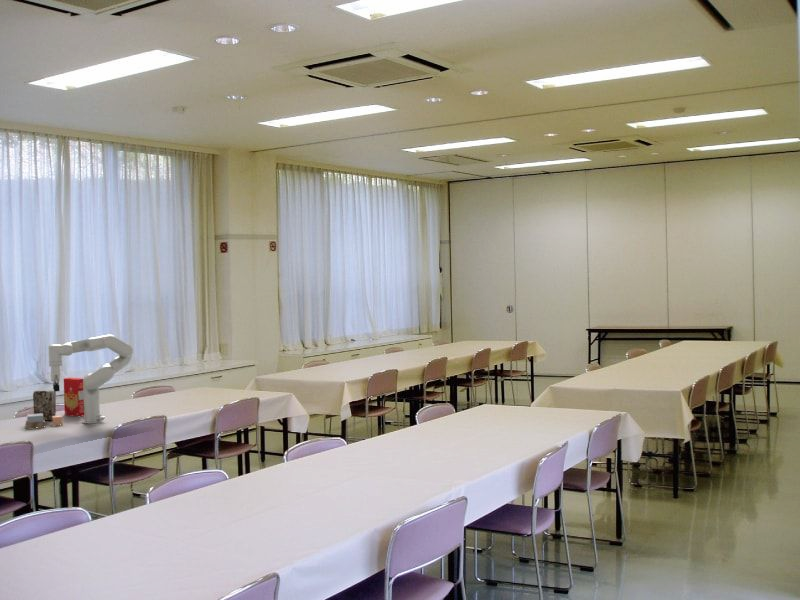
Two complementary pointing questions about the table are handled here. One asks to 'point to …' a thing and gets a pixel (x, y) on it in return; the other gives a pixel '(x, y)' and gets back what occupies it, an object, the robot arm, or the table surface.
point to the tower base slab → (35, 424)
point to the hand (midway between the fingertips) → (56, 390)
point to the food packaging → (73, 396)
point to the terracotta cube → (57, 420)
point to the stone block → (45, 403)
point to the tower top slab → (34, 418)
